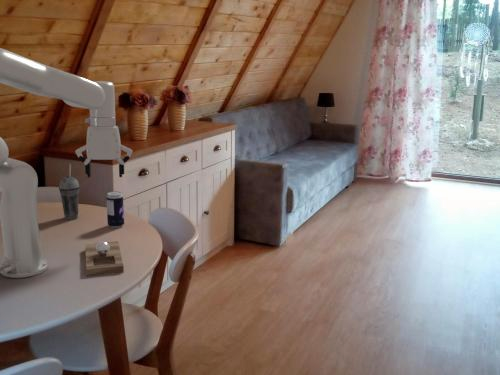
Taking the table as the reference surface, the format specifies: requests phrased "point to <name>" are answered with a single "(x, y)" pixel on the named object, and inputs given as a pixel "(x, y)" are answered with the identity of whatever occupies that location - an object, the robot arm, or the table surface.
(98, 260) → the slotted wooden board
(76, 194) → the beverage cup
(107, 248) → the steel ball
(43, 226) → the table surface
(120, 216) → the beverage can
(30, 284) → the table surface
